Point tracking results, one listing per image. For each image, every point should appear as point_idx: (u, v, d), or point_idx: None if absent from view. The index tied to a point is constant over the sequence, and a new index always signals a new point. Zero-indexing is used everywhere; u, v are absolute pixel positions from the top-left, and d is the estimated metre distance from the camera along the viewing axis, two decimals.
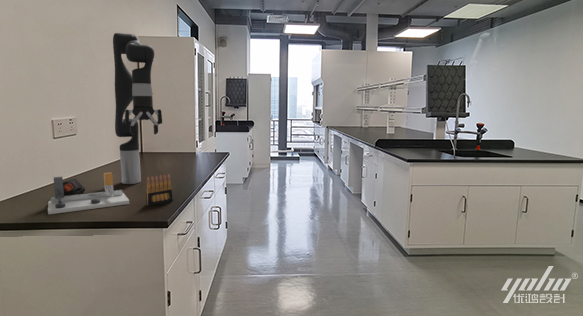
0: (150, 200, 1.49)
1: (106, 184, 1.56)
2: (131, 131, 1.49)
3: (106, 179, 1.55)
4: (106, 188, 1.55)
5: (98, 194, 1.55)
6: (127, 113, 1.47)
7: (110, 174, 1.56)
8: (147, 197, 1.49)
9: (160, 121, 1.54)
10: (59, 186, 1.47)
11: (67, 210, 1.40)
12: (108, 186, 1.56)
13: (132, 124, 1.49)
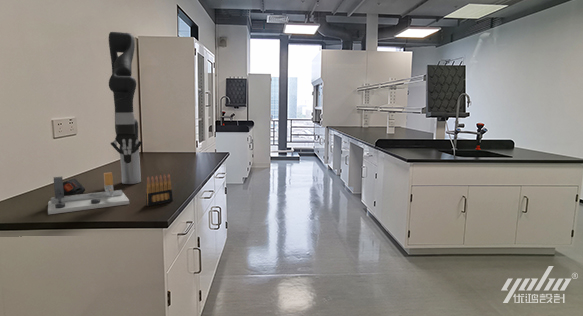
0: (150, 200, 1.49)
1: (106, 184, 1.56)
2: (124, 159, 1.59)
3: (106, 179, 1.55)
4: (106, 188, 1.55)
5: (98, 194, 1.55)
6: (114, 145, 1.56)
7: (110, 174, 1.56)
8: (147, 197, 1.49)
9: (133, 150, 1.60)
10: (59, 186, 1.47)
11: (67, 210, 1.40)
12: (108, 186, 1.56)
13: (125, 153, 1.58)
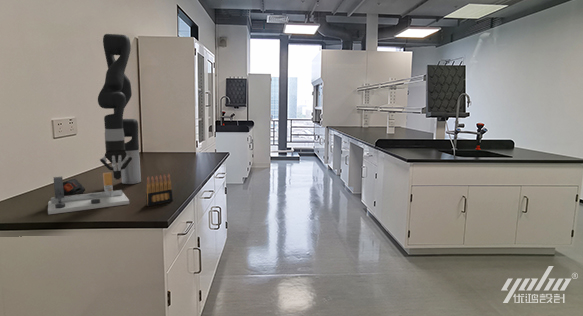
0: (150, 200, 1.49)
1: (105, 184, 1.55)
2: (114, 176, 1.57)
3: (105, 179, 1.55)
4: (105, 188, 1.55)
5: (98, 194, 1.55)
6: (103, 162, 1.54)
7: (109, 174, 1.56)
8: (147, 197, 1.49)
9: (123, 166, 1.58)
10: (59, 186, 1.47)
11: (67, 210, 1.40)
12: (107, 186, 1.56)
13: (115, 169, 1.57)
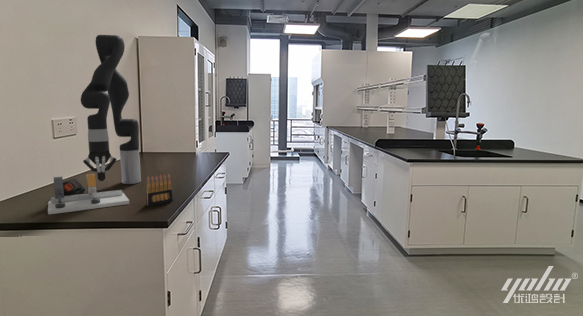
0: (150, 200, 1.49)
1: (89, 186, 1.52)
2: (98, 177, 1.54)
3: (89, 181, 1.52)
4: (89, 190, 1.52)
5: (98, 194, 1.55)
6: (86, 163, 1.51)
7: (93, 176, 1.52)
8: (147, 197, 1.49)
9: (107, 168, 1.55)
10: (59, 186, 1.47)
11: (67, 210, 1.40)
12: (91, 188, 1.52)
13: (99, 171, 1.53)
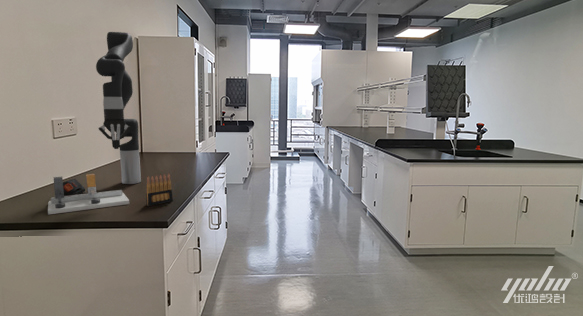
0: (150, 200, 1.49)
1: (89, 186, 1.52)
2: (113, 145, 1.56)
3: (88, 181, 1.52)
4: (88, 190, 1.52)
5: (98, 194, 1.55)
6: (102, 130, 1.52)
7: (93, 176, 1.52)
8: (147, 197, 1.49)
9: (122, 136, 1.57)
10: (59, 186, 1.47)
11: (67, 210, 1.40)
12: (91, 188, 1.52)
13: (114, 138, 1.55)
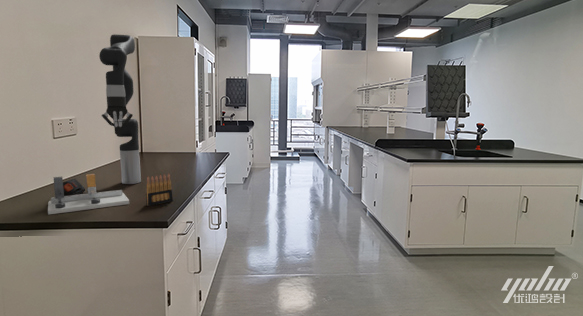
0: (150, 200, 1.49)
1: (89, 186, 1.52)
2: (115, 131, 1.62)
3: (88, 181, 1.52)
4: (88, 190, 1.52)
5: (98, 194, 1.55)
6: (105, 117, 1.59)
7: (93, 176, 1.52)
8: (147, 197, 1.49)
9: (124, 123, 1.63)
10: (59, 186, 1.47)
11: (67, 210, 1.40)
12: (91, 188, 1.52)
13: (116, 125, 1.61)
